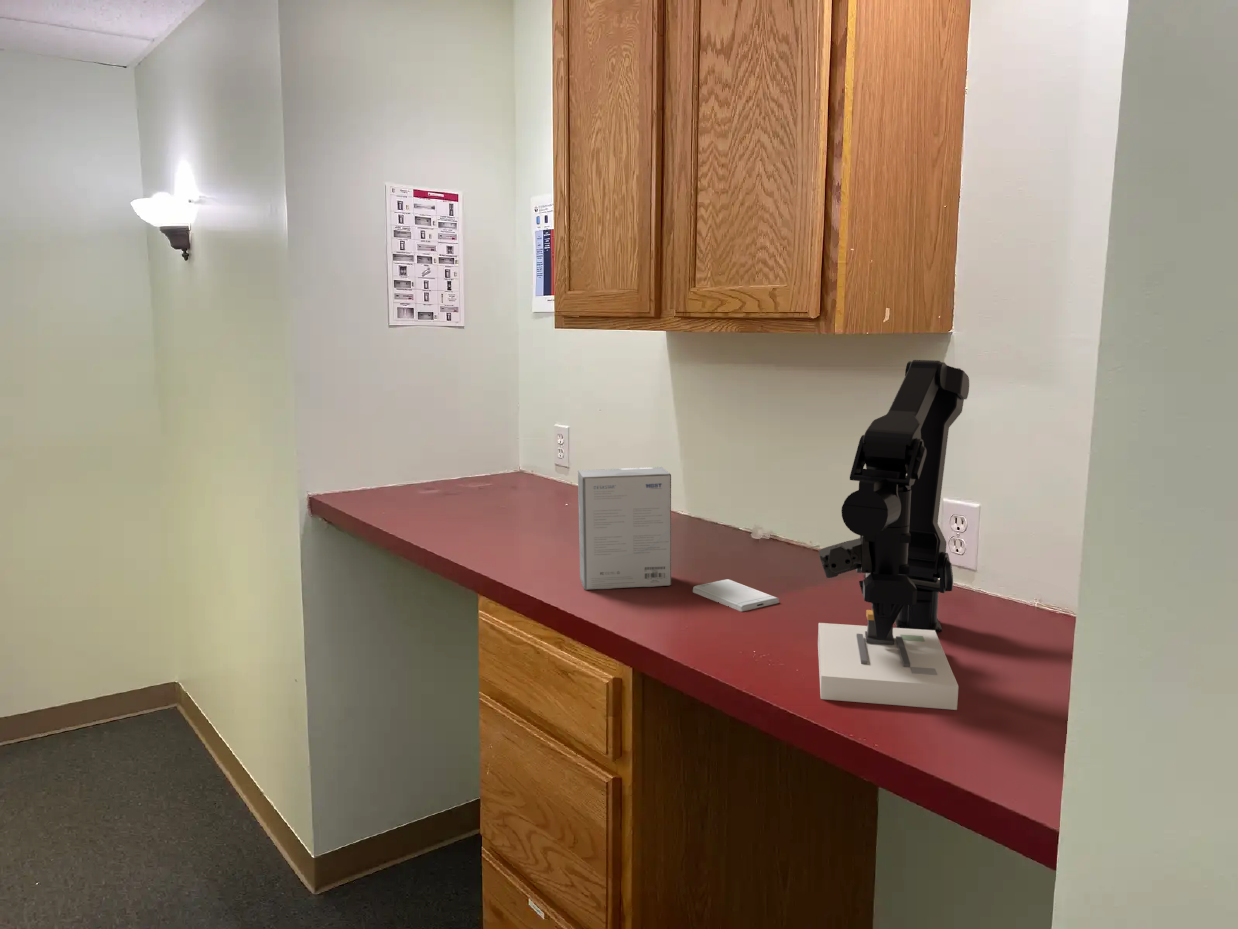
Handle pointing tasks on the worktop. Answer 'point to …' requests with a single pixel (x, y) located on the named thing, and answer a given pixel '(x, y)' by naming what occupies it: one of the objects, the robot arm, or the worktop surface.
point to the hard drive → (735, 595)
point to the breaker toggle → (871, 631)
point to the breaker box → (885, 668)
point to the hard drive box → (624, 527)
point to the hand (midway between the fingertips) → (881, 638)
